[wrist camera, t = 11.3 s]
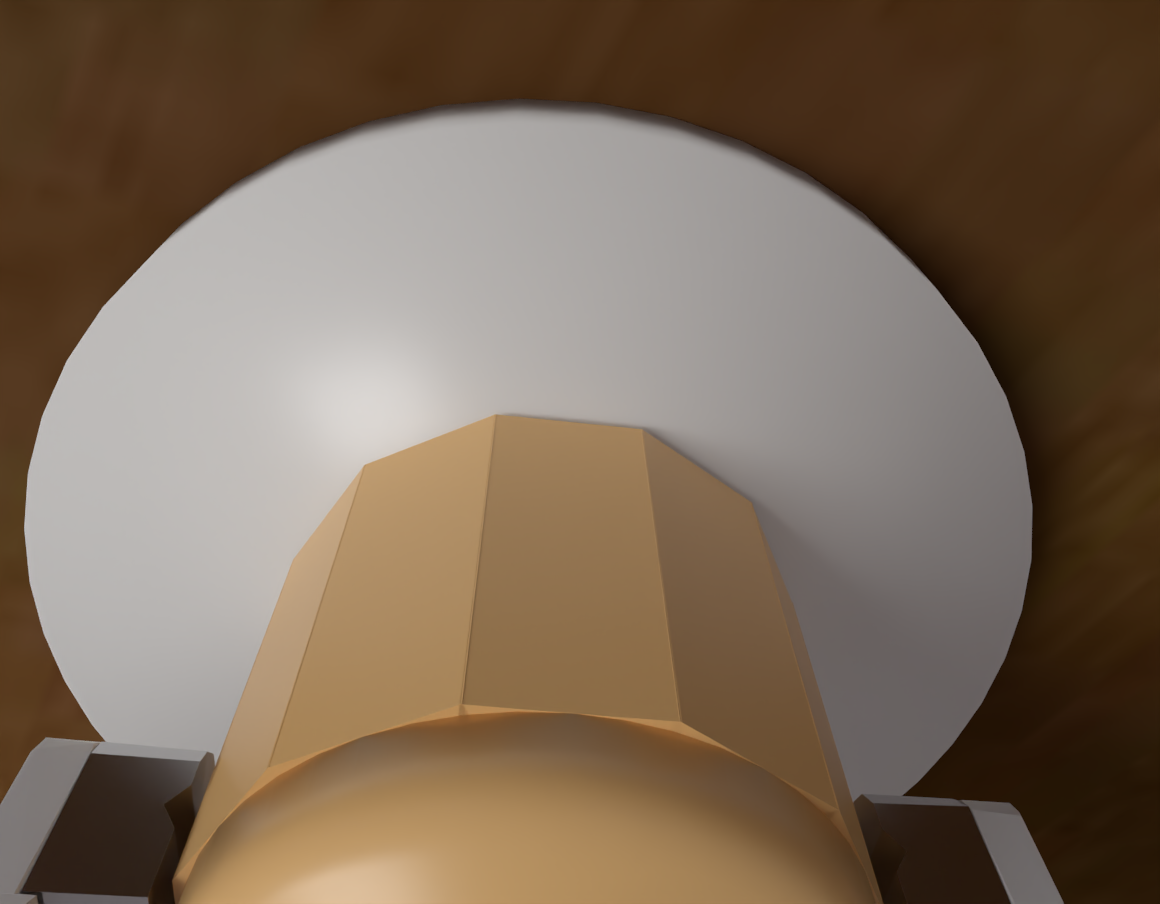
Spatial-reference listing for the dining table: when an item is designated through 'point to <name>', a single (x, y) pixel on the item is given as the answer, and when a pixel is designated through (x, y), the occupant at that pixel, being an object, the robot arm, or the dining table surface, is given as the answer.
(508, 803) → the cap
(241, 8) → the dining table surface
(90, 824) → the robot arm
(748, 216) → the post plate
